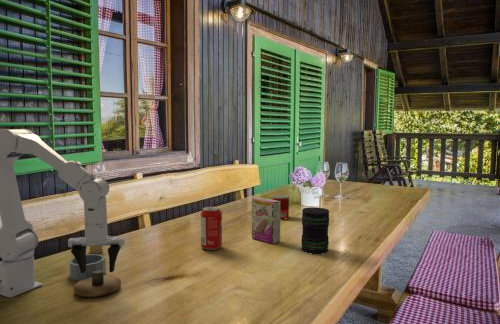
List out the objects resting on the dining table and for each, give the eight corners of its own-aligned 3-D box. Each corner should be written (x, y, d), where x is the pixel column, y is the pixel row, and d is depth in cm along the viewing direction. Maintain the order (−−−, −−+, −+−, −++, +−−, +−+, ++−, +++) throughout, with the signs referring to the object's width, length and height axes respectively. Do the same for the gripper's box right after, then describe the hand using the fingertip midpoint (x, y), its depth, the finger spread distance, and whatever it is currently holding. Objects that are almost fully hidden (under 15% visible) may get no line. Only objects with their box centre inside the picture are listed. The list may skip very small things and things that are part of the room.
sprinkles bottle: (91, 250, 143) (90, 213, 142) (104, 249, 143) (103, 213, 142) (87, 254, 138) (86, 216, 137) (101, 254, 139) (99, 216, 138)
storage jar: (312, 244, 151) (312, 206, 150) (333, 250, 144) (334, 210, 143) (295, 250, 144) (296, 210, 143) (317, 256, 137) (318, 214, 136)
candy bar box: (251, 239, 158) (251, 198, 157) (259, 236, 162) (259, 197, 160) (272, 244, 150) (273, 202, 149) (280, 242, 154) (281, 200, 153)
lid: (96, 303, 101) (96, 284, 100) (64, 294, 106) (63, 276, 106) (130, 286, 112) (129, 269, 111) (99, 278, 117) (98, 262, 116)
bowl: (86, 282, 114) (85, 267, 113) (62, 276, 118) (61, 261, 118) (112, 271, 123) (111, 257, 122) (89, 265, 127) (88, 252, 127)
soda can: (197, 249, 144) (196, 209, 143) (206, 243, 151) (206, 205, 150) (216, 252, 141) (216, 211, 140) (225, 246, 149) (225, 206, 147)
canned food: (291, 217, 195) (291, 195, 194) (283, 220, 189) (284, 198, 188) (277, 215, 199) (277, 194, 198) (269, 218, 193) (270, 196, 192)
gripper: (62, 227, 103) (64, 277, 104) (119, 226, 104) (120, 276, 105) (72, 220, 110) (74, 267, 111) (125, 219, 111) (127, 266, 112)
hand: (97, 271), depth 108 cm, fingers open, 7 cm apart
